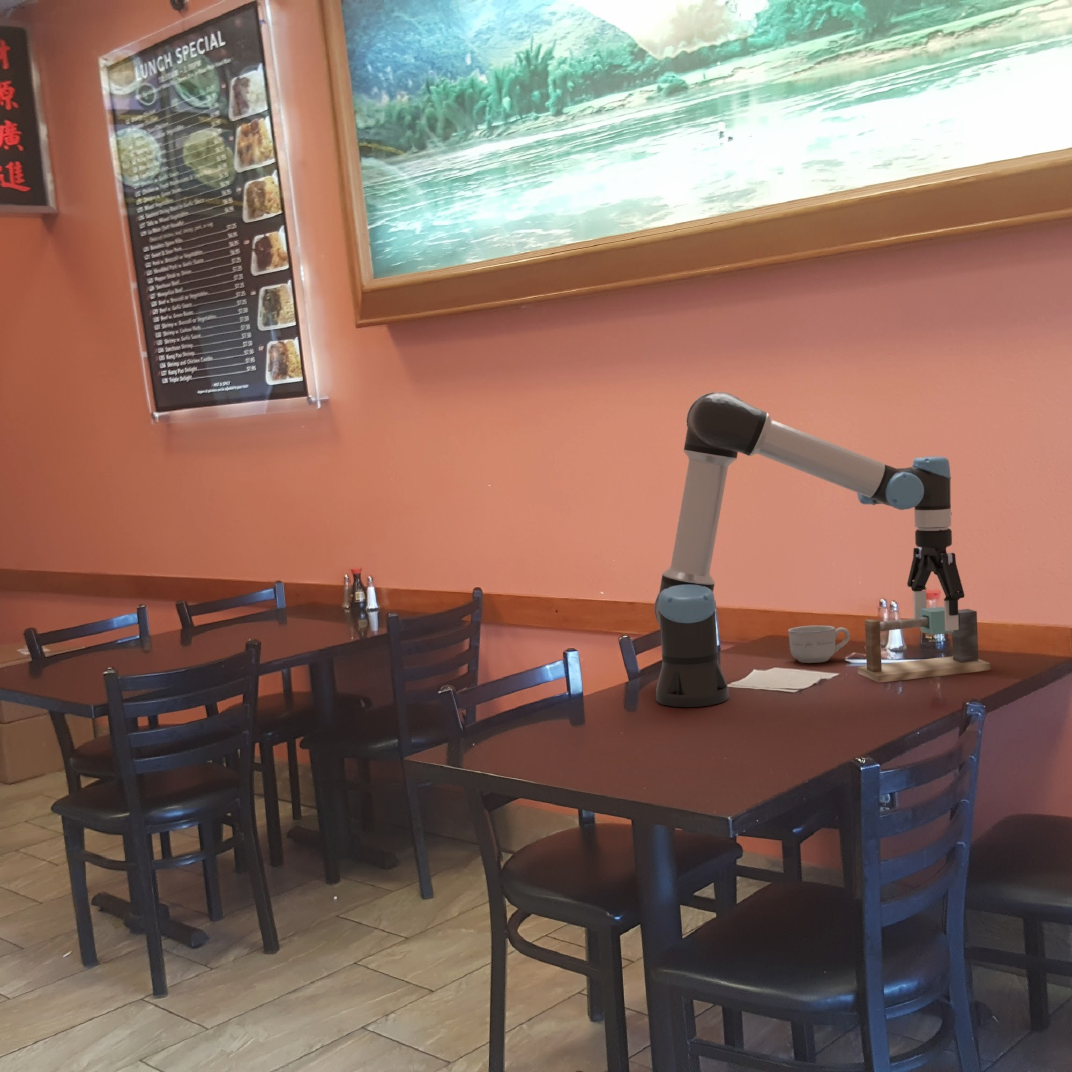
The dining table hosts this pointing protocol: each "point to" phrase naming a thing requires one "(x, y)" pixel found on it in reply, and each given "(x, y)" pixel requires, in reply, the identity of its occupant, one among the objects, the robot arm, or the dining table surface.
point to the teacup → (815, 642)
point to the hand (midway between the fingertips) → (935, 625)
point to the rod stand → (956, 664)
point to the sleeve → (934, 620)
